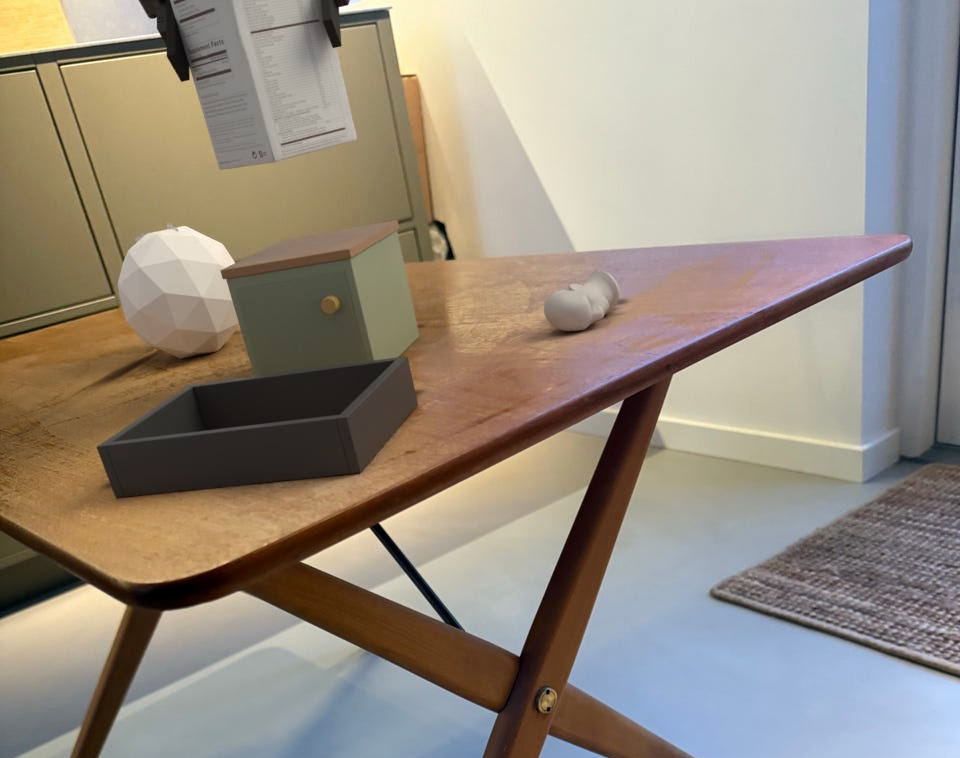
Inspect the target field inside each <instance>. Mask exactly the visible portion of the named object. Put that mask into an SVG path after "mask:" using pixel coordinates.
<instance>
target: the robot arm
mask: <svg viewBox="0 0 960 758" xmlns="http://www.w3.org/2000/svg"><path fill="white" fill-rule="evenodd" d="M138 2H139V4H140V5H141V7H142V9H143V11H144V12H145V14H146V16H147V17H148V19H151V20H153V19H156V30H157V32H158V34H159V35H160V37H161V39H162V41H163V42H164V44H165V45H166V58H167V60H168V62H169V63H170V65H171V66H172V68H173V70H174V72H175V74H176V75H177V77H178V79H179V80H180V82H181V83H184V82H187V81H190V79H191V77H190V74H191V70H190V67H189V63H188V60H187V57H186V53H185V50H184V46H183V43H182V39H181V36H180V32H179V29H178V25H177V22H176V19H175V15H174V12H173V8H172V5H171V2H170V0H138ZM350 2H351V0H321V4H322V20H323V24H324V26H325V29H326V32H327V34H328V37H329V39H330V42H331V45H332V47H333V48H336V49H337V48H341V47H342V32H341V21H340V20H341V19H340V8H342V7H346V6H349V4H350Z"/></svg>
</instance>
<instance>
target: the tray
mask: <svg viewBox="0 0 960 758" xmlns="http://www.w3.org/2000/svg"><path fill="white" fill-rule="evenodd" d="M418 406H419V403H418V397H417V393H416V388H415V385H414V379H413V376H412V371H411V366H410V361H409V357H408V356H407V355H405V356H399V357H396V358H389V359H381V360H374V361H366V362H359V363H351V364H344V365H336V366H329V367H321V368H314V369H306V370H299V371H291V372H284V373H277V374H269V375H262V376H254V375H253V376H247V377H239V378H232V379H224V380H218V381H217V380H216V381H211V382H202V383H196V384H189V385H187V386H185V387H184V388H182V389H181V390H179V391H178V392H176V393H175V394H172V396H170V397H168V398H167V399H166V400H164V401H163V402H161V403H159V404H158V405H157V406H155V407H153V408H152V409H151V410H149V411H148V412H146V413H144V414H143V415H142V416H140V417H139V418H137V419H136V420H134V421H132V422H131V423H130V424H128V425H126V426H125V427H124V428H122V429H121V430H119V431H118V432H115V434H113V435H112V436H110V437H108V439H106V440H104V441H102V442H101V443H100V444H98V445H97V446H96V450H97V453H98V455H99V458H100V460H101V463H102V465H103V468H104V471H105V474H106V477H107V479H108V482H109V484H110V487H111V489H112V492H113V494H114V497H115V498H124V497H126V498H127V497H136V496H145V495H146V496H147V495H157V494H166V493H175V492H185V491H195V490H196V491H197V490H206V489H215V488H216V489H217V488H225V487H234V486H235V487H237V486H245V485H255V484H265V483H274V482H275V483H276V482H284V481H295V480H304V479H306V480H307V479H314V478H324V477H335V476H344V475H354V474H361V473H363V471H364V470H365V469H366V467H367V466H368V465H369V464H370V462H372V460H373V459H374V458H375V457H376V456H377V454H378V453H379V452H380V451H381V450H382V449H383V448H384V446H385V445H386V444H387V443H388V441H389V440H390V439H391V438H392V437H393V435H394V434H395V433H396V432H397V431H398V429H400V427H401V426H402V425H403V424H404V422H405V421H406V420H407V419H408V418H409V417H410V415H411V414H412V413H413V412H414V411H415V410H416V408H417V407H418Z"/></svg>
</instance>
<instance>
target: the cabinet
mask: <svg viewBox="0 0 960 758" xmlns="http://www.w3.org/2000/svg"><path fill="white" fill-rule="evenodd" d="M399 229H400V225H399V220H397V219H395V220H389V221H384V222H378V223H372V224H366V225H361V226H355V227H349V228H343V229H339V230H338V229H337V230H333V231H326V232H321V233H315V234H309V235H303V236H298V237H293V238H287V239H282V240H279V241H277V242H275V243H274V244H271V245H269V246H268V247H265V248H263V249H260V250H259V251H256V252H255V253H252V254H251V255H249V256H247V257H245V258H243V259H241V260H238V261H236V262H235V263H234V264H232V265H230V266H228V267H226V268H224V269H222V270H221V275H222V278H223V279H226V281H227V284H228V288H229V291H230V295H231V298H232V301H233V305H234V308H235V312H236V315H237V318H238V322H239V328H240V332H241V335H242V339H243V342H244V345H245V349H246V352H247V355H248V359H249V362H250V367H251V369H252V373H253V377H254V376H262V375H269V374H277V373H284V372H291V371H299V370H306V369H314V368H321V367H329V366H336V365H344V364H351V363H359V362H366V361H374V360H381V359H389V358H396V357H401V355H402V354H403V353H405V352H406V351H407V349H409V347H411V346H412V344H413V343H415V342H416V341H417V340H418V339H419V338H420V333H419V327H418V323H417V318H416V314H415V309H414V308H415V307H414V305H413V300H412V294H411V290H410V285H409V280H408V275H407V271H406V267H405V261H404V256H403V252H402V251H403V250H402V247H401V242H400V237H399V233H398V230H399Z"/></svg>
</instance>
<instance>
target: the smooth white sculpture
mask: <svg viewBox="0 0 960 758" xmlns="http://www.w3.org/2000/svg"><path fill="white" fill-rule="evenodd" d="M620 291H621V290H620V286H619V283H618V282H617V280H616V278H615V276H613V275H612V274H611V273H609V272H608V271H604V270H602V269H597V270H594V271H593V272H592V273H591V274H590V275H589V277H588V279H587V281H586V282H585V283H584V284H579V283H570V284H569V285H568V288H565V289H560V290H557V291H555V292H553V293H551V294H550V295H549V296H548V297H547V299H546V301H545V303H544V305H543V313H544V317H545V319H546V321H547V322H548V324H550V326H551V327H553V328H555V329H557V330H560V331H563V332H577V331H578V332H579V331H584V330H586V329H588V328H589V326H591V325H592V324H594V323H595V322H596V321H600V320H602V319H603V318H604V316H605V315H606V314H608V313H610V312H611V311H613V310H614V309H615V308H616V306H617V305H618V303H619V298H620V294H621V292H620Z"/></svg>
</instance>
